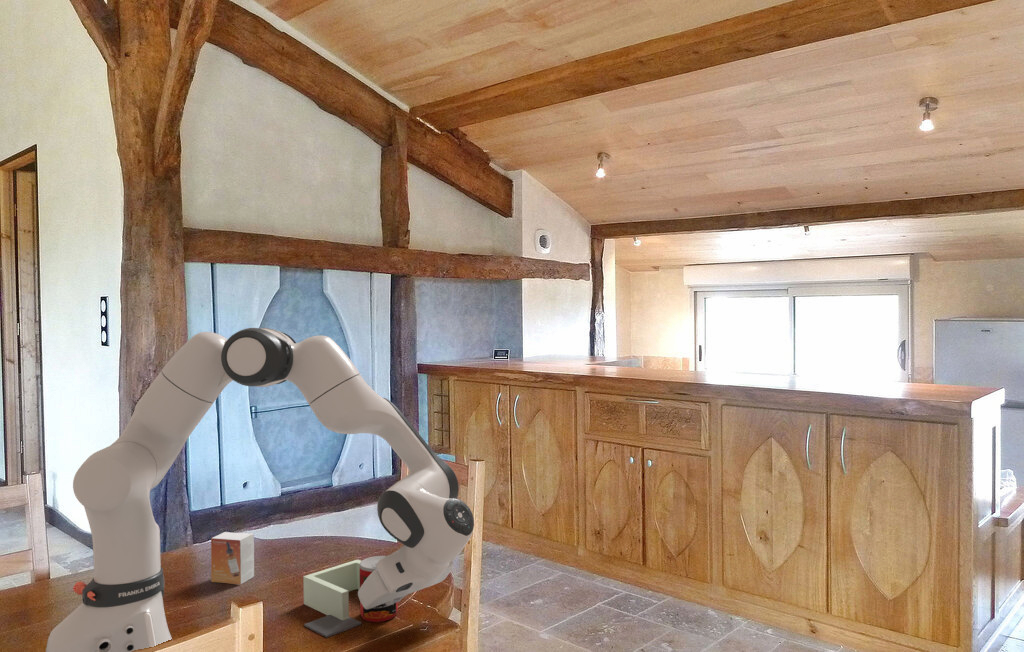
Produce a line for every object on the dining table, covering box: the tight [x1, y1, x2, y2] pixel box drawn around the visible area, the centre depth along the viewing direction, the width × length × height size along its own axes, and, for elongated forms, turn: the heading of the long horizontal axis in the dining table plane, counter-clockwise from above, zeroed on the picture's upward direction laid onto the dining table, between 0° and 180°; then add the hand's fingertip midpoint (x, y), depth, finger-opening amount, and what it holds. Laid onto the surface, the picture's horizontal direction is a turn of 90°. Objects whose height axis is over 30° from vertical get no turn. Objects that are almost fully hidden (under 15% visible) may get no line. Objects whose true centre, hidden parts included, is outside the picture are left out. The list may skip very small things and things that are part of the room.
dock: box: [302, 558, 362, 620], centre depth 156 cm, size 14×14×6 cm
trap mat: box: [303, 615, 362, 639], centre depth 145 cm, size 8×8×1 cm
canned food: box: [359, 555, 399, 623], centre depth 149 cm, size 8×8×11 cm
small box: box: [210, 531, 255, 586], centre depth 171 cm, size 8×6×10 cm
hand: (391, 600), depth 146 cm, fingers closed, pressing on canned food
